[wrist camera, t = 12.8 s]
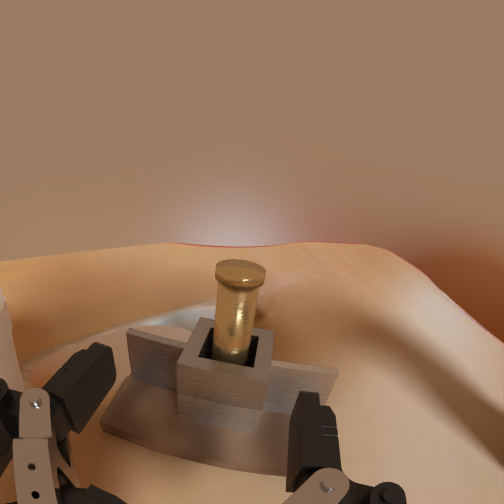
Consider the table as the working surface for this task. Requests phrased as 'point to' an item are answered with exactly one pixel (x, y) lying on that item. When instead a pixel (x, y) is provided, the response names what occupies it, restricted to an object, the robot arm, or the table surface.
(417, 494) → the table surface
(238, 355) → the brass capped peg
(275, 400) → the grey winged socket holder
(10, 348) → the foam cup
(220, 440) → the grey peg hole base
